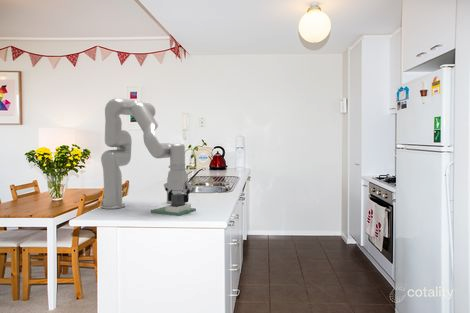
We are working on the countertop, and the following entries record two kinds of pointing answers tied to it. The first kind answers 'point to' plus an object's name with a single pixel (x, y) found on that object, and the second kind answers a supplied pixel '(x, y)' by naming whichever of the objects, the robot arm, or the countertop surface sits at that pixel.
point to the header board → (174, 210)
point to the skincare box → (173, 193)
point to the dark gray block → (177, 200)
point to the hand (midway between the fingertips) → (178, 201)
